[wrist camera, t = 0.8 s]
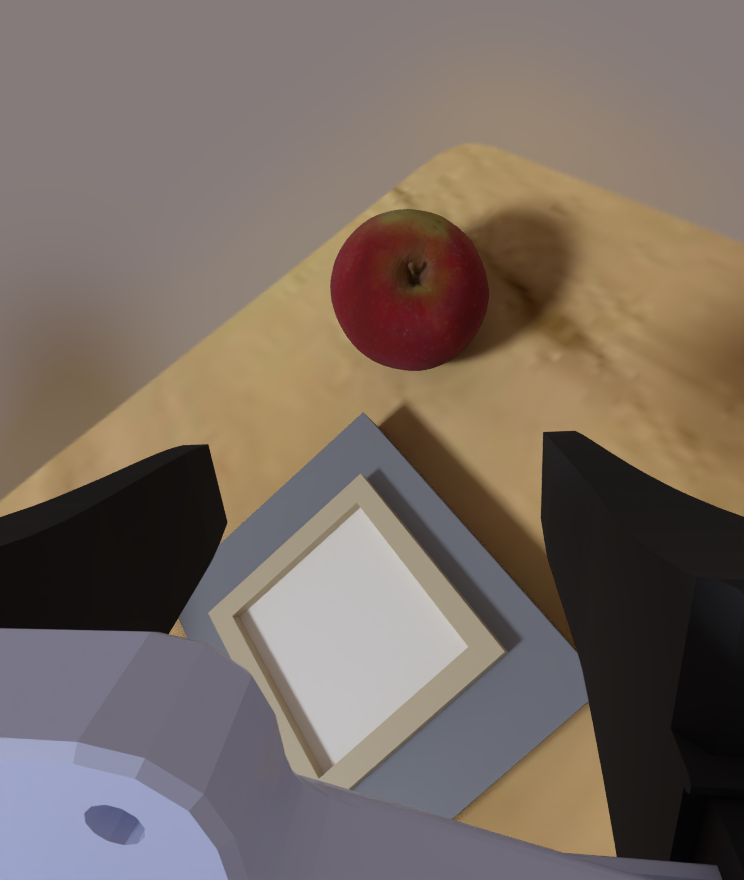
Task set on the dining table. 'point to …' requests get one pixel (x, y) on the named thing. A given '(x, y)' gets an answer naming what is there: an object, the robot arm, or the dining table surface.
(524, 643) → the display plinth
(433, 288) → the apple
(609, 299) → the dining table surface
